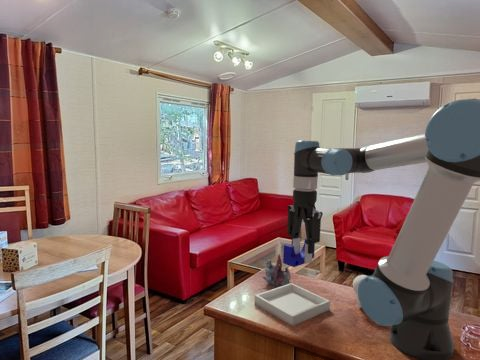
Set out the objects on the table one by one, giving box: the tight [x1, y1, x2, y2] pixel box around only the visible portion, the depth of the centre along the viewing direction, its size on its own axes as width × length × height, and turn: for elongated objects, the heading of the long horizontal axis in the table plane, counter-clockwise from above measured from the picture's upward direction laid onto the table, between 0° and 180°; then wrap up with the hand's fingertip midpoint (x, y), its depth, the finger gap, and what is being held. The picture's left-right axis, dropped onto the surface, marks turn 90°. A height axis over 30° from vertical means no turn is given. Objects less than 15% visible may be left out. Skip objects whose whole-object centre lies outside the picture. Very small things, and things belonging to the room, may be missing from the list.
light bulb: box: [352, 274, 368, 310], centre depth 114 cm, size 7×7×11 cm
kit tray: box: [254, 282, 331, 327], centre depth 114 cm, size 17×17×3 cm
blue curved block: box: [282, 238, 316, 268], centre depth 114 cm, size 12×4×6 cm, turn 131°
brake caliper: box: [262, 253, 291, 287], centre depth 133 cm, size 11×11×12 cm
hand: (301, 259), depth 115 cm, fingers closed on blue curved block, 5 cm apart
